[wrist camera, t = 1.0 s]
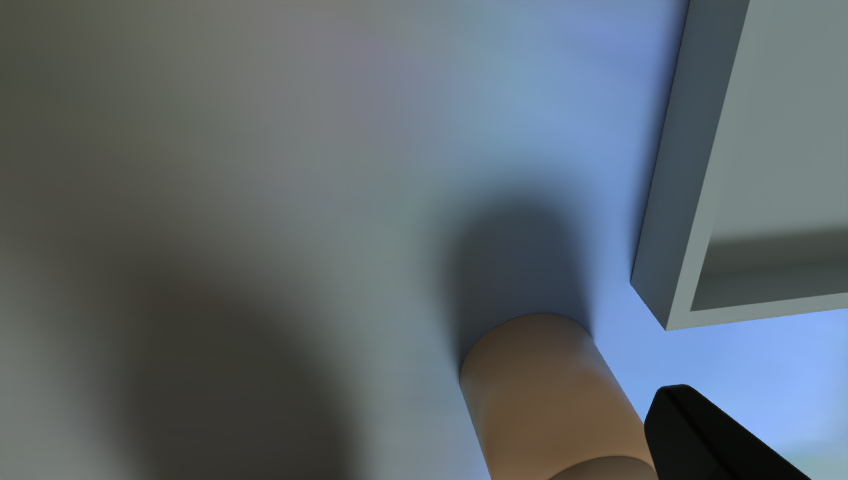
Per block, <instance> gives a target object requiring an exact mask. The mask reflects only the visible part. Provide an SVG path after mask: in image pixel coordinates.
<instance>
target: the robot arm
mask: <svg viewBox="0 0 848 480" xmlns="http://www.w3.org/2000/svg"><path fill="white" fill-rule="evenodd" d="M644 434H645V438H646V442H647V445H648V448H649V451H650V454H651V457H652V461H653V464H654V467H655V470H656V473H657V476H658V479H659V480H811V479H810V478H809V477H807V476H806V475H805V474H804V473H802V472H801V471H800V470H798V469H797V468H796V467H795V466H793V465H792V464H791V463H789V462H788V461H787V460H786V459H784V458H783V457H782V456H780V455H779V454H778V453H777V452H775V451H774V450H773V449H771V448H770V447H769V446H767V445H766V444H765V443H764V442H762V441H761V440H760V439H758V438H757V437H756V436H755V435H753V434H752V433H751V432H749V431H748V430H747V429H746V428H744V427H743V426H742V425H740V424H739V423H738V422H737V421H735V420H734V419H733V418H731V417H730V416H729V415H727V414H726V413H725V412H724V411H722V410H721V409H720V408H718V407H717V406H716V405H715V404H713V403H712V402H711V401H709V400H708V399H707V398H706V397H704V396H703V395H702V394H700V393H699V392H698V391H697V390H695V389H694V388H692V387H691V386H688V385H685V384H679V385H670V386H663V387H661V388H659V389H658V390H657V392H656V394H655V396H654V399H653V401H652V404H651V406H650V409H649V411H648V414H647V416H646V419H645V422H644Z"/></svg>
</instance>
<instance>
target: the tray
mask: <svg viewBox="0 0 848 480" xmlns="http://www.w3.org/2000/svg"><path fill="white" fill-rule="evenodd" d="M631 286H632V287H633V288H634V290H635V291H636V292H637V294H638V295H639V296H640V298H641V299H642V300H643V302H644V303H645V304H646V306H647V307H648V308H649V310H650V311H651V312H652V314H653V315H654V316H655V318H656V319H657V320H658V322H659V323H660V324H661V326H662V327H663V328H664V330H665V331H670V330H677V329H685V328H693V327H701V326H709V325H717V324H725V323H733V322H740V321H748V320H756V319H764V318H772V317H780V316H788V315H796V314H804V313H811V312H819V311H827V310H835V309H843V308H848V0H690V4H689V9H688V13H687V18H686V23H685V28H684V32H683V37H682V42H681V47H680V51H679V56H678V61H677V66H676V70H675V75H674V80H673V85H672V89H671V94H670V99H669V104H668V108H667V113H666V118H665V123H664V127H663V132H662V137H661V142H660V146H659V151H658V156H657V160H656V165H655V170H654V175H653V179H652V184H651V189H650V194H649V198H648V203H647V208H646V213H645V217H644V222H643V227H642V232H641V236H640V241H639V246H638V251H637V255H636V260H635V265H634V270H633V274H632V279H631Z"/></svg>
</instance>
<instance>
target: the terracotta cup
mask: <svg viewBox="0 0 848 480" xmlns="http://www.w3.org/2000/svg"><path fill="white" fill-rule="evenodd" d="M460 387H461V391H462V394H463V397H464V400H465V403H466V406H467V409H468V412H469V415H470V418H471V421H472V424H473V427H474V430H475V433H476V436H477V438H478V441H479V444H480V447H481V450H482V453H483V456H484V459H485V462H486V465H487V468H488V471H489V474H490V477H491V480H659V479H658V476H657V473H656V470H655V467H654V464H653V461H652V457H651V454H650V451H649V448H648V445H647V442H646V438H645V434H644V424H643V423H642V421H641V419H640V418H639V416H638V414H637V413H636V411H635V409H634V408H633V406H632V404H631V403H630V401H629V399H628V398H627V396H626V395H625V393H624V391H623V390H622V388H621V386H620V385H619V383H618V381H617V380H616V378H615V376H614V375H613V373H612V371H611V370H610V368H609V366H608V365H607V363H606V362H605V360H604V358H603V357H602V355H601V353H600V352H599V350H598V348H597V347H596V345H595V343H594V342H593V340H592V338H591V337H590V335H589V334H588V332H587V331H586V329H585V328H584V327H583V326H582V325H581V324H579V323H578V322H576V321H575V320H573V319H570V318H568V317H565V316H562V315H558V314H551V313H538V314H530V315H524V316H521V317H517V318H514V319H511V320H509V321H506V322H504V323H502V324H500V325H498V326H497V327H495V328H494V329H492V330H490V331H489V332H488V333H486V334H485V335H484V336H483V337H482V338H481V339H479V340H478V341H477V342H476V344H475V345H474V346H473V347H472V348H471V350H470V351H469V353H468V354H467V356H466V358H465V360H464V362H463V364H462V368H461V372H460Z"/></svg>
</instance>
